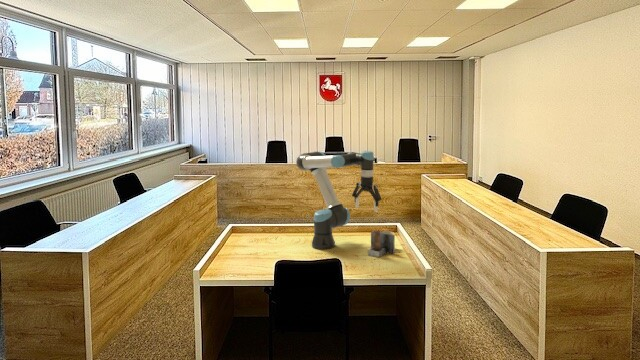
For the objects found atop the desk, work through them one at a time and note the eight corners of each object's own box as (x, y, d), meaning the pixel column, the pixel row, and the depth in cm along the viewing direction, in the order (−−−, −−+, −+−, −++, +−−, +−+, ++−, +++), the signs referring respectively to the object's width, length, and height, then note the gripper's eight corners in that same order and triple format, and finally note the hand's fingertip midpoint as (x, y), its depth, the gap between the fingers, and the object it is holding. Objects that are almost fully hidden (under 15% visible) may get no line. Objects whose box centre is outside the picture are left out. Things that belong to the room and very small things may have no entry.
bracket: (362, 253, 329) (362, 235, 327) (372, 249, 338) (372, 230, 336) (384, 258, 319) (384, 239, 317) (394, 253, 329) (394, 234, 326)
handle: (372, 253, 327) (372, 231, 324) (375, 251, 330) (375, 229, 327) (377, 254, 324) (377, 232, 322) (381, 252, 327) (381, 230, 325)
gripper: (346, 174, 332) (346, 207, 336) (381, 179, 317) (380, 214, 321) (353, 172, 338) (353, 205, 342) (387, 177, 323) (386, 211, 327)
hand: (366, 209), depth 332 cm, fingers open, 13 cm apart
